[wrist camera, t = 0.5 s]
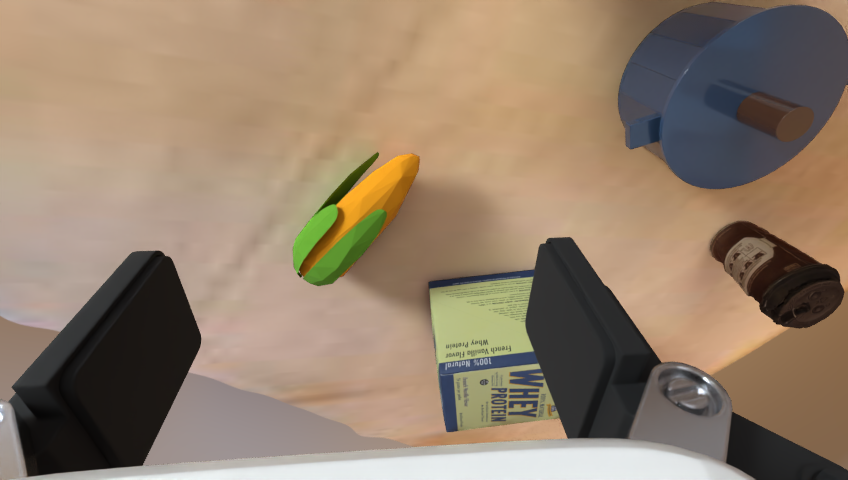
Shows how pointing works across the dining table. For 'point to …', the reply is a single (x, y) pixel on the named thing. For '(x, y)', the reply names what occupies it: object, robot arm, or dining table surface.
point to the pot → (667, 66)
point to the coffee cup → (778, 275)
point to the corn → (352, 219)
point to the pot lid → (754, 96)
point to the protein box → (487, 352)
